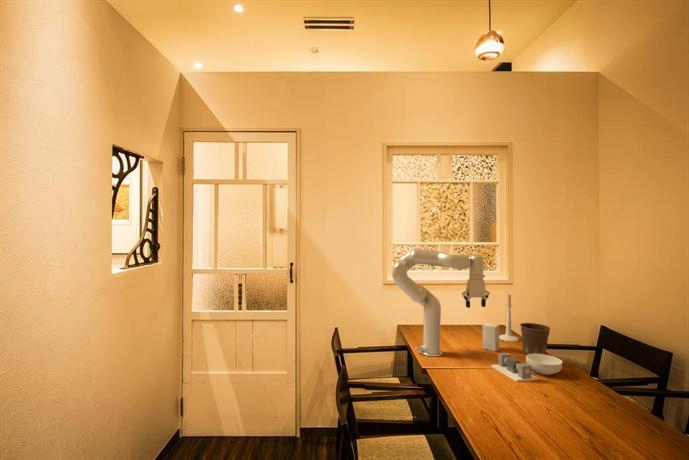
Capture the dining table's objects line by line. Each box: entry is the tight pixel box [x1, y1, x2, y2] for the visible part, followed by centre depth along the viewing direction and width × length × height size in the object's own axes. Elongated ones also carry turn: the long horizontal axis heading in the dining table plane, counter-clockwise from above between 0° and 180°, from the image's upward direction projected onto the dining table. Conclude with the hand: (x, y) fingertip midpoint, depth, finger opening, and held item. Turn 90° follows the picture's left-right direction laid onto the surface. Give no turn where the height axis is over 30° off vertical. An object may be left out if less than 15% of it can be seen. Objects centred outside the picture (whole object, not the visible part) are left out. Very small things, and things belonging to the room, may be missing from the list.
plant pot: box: [519, 322, 552, 355], centre depth 227 cm, size 16×16×16 cm
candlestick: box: [499, 293, 520, 343], centre depth 255 cm, size 13×13×30 cm
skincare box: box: [482, 322, 501, 352], centre depth 234 cm, size 8×6×15 cm
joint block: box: [507, 357, 522, 373], centre depth 196 cm, size 7×4×6 cm
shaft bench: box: [491, 352, 539, 383], centre depth 196 cm, size 12×20×7 cm, turn 13°
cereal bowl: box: [525, 354, 563, 376], centre depth 198 cm, size 17×17×7 cm
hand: (475, 307), depth 220 cm, fingers open, 9 cm apart
